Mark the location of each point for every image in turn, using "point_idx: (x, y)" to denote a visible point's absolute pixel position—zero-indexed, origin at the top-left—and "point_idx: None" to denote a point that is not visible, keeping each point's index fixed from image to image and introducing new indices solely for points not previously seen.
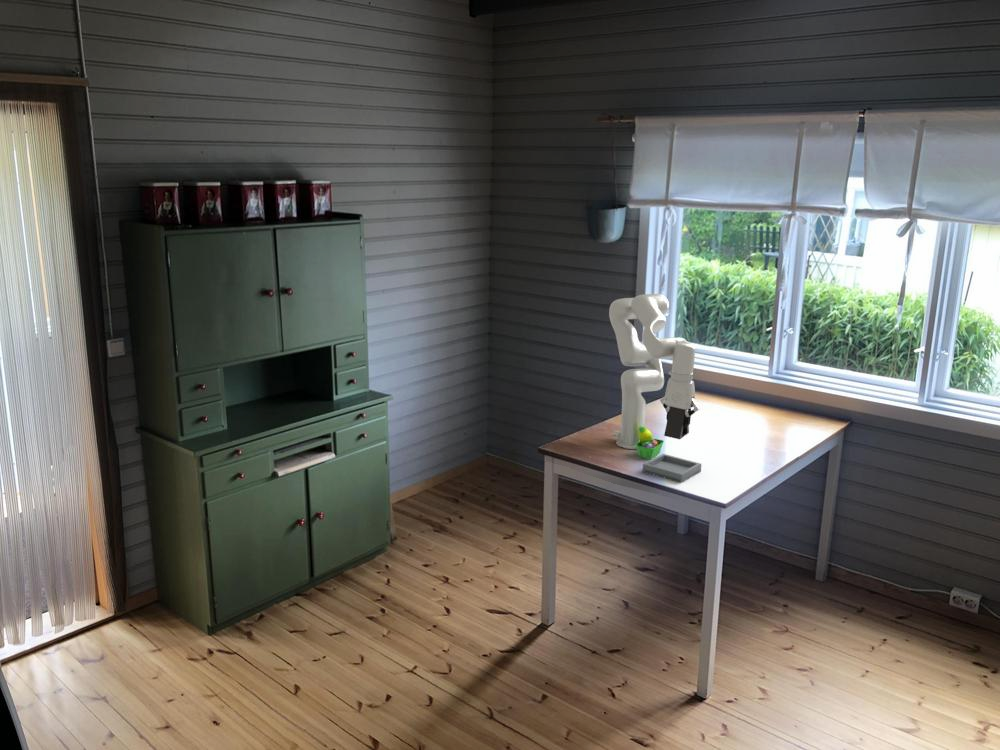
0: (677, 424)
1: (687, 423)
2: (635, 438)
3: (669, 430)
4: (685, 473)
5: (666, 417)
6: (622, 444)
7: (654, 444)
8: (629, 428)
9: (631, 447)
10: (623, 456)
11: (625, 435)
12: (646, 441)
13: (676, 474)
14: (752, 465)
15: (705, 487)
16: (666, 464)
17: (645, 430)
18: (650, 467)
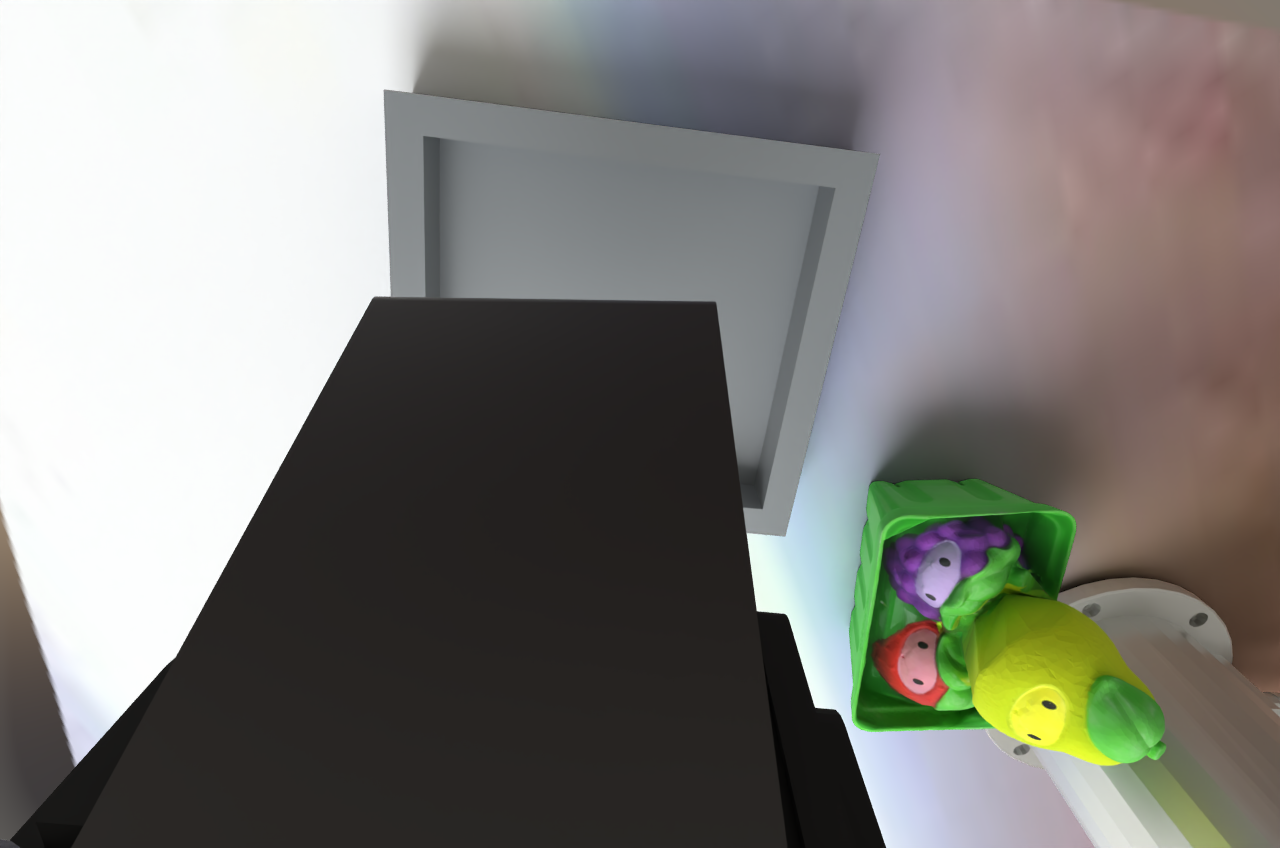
0: (406, 514)
1: None
2: None
3: (618, 373)
4: (389, 176)
5: (849, 744)
6: (1171, 604)
7: (912, 643)
8: (1240, 738)
9: (1085, 594)
10: (1110, 416)
11: (1213, 675)
12: (995, 612)
13: (457, 99)
14: None
15: (173, 116)
16: None
17: (1080, 711)
18: (781, 142)
